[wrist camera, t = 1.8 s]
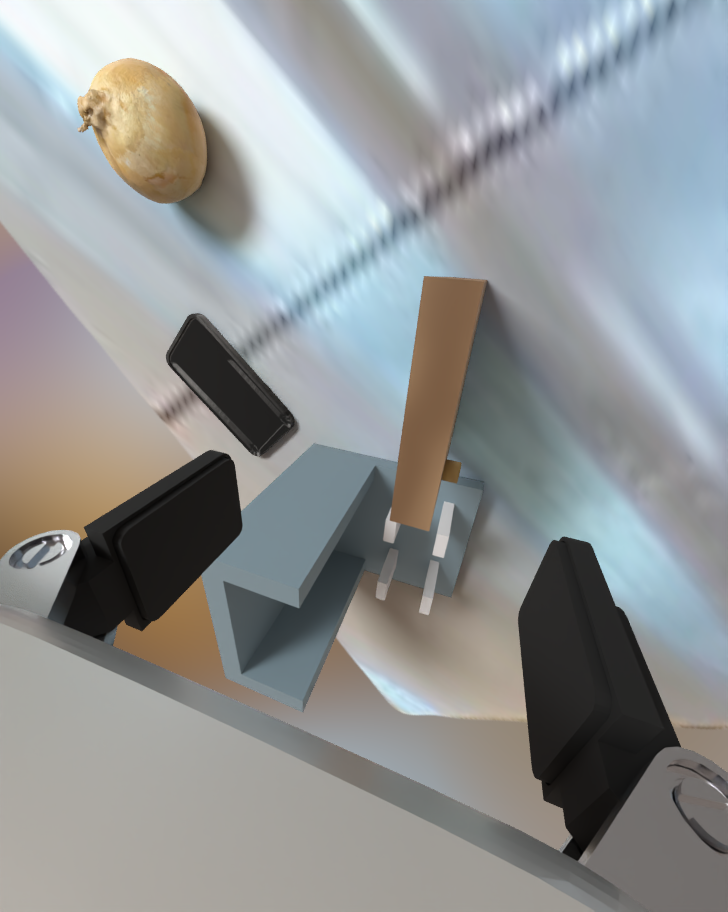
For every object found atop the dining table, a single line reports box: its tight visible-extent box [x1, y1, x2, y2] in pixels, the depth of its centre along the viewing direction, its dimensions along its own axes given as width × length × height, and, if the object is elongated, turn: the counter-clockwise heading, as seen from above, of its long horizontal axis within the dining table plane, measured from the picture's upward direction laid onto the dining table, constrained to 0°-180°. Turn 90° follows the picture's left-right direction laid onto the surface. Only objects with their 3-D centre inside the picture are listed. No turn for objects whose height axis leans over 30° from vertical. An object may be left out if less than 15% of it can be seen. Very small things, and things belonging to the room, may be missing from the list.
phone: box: [166, 313, 294, 456], centre depth 37 cm, size 8×1×15 cm
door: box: [390, 276, 487, 531], centre depth 22 cm, size 3×13×14 cm, turn 175°
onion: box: [77, 58, 207, 204], centre depth 25 cm, size 8×8×7 cm
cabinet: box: [201, 444, 484, 712], centre depth 31 cm, size 18×15×18 cm
